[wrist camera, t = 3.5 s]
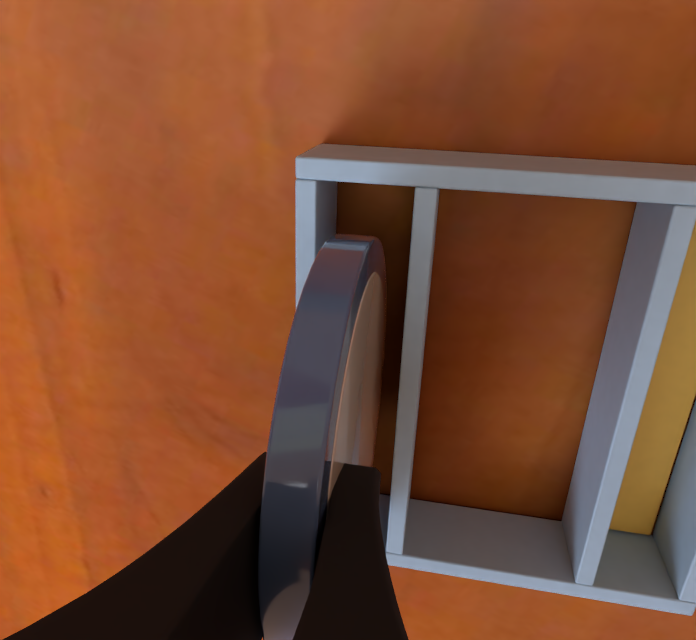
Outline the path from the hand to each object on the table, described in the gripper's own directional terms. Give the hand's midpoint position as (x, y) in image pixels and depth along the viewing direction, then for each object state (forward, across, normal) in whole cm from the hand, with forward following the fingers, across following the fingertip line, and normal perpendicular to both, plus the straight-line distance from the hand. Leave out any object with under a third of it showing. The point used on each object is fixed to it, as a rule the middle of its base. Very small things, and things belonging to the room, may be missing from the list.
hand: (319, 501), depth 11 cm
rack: (+7, -4, 0) cm, 8 cm away
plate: (+7, 0, 0) cm, 7 cm away
